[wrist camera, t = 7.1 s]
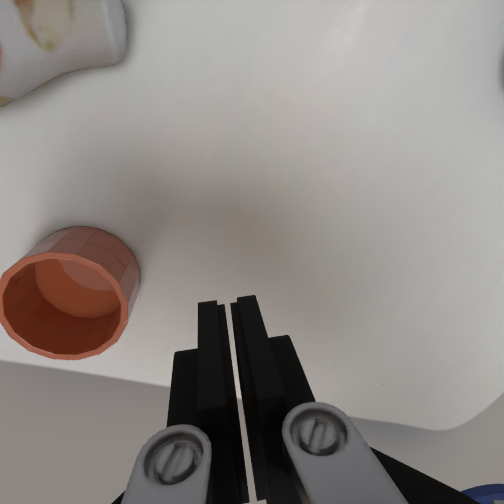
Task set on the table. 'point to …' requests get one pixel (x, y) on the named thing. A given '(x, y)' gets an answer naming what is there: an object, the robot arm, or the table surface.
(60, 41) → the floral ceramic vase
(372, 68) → the table surface
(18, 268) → the cup
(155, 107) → the table surface
